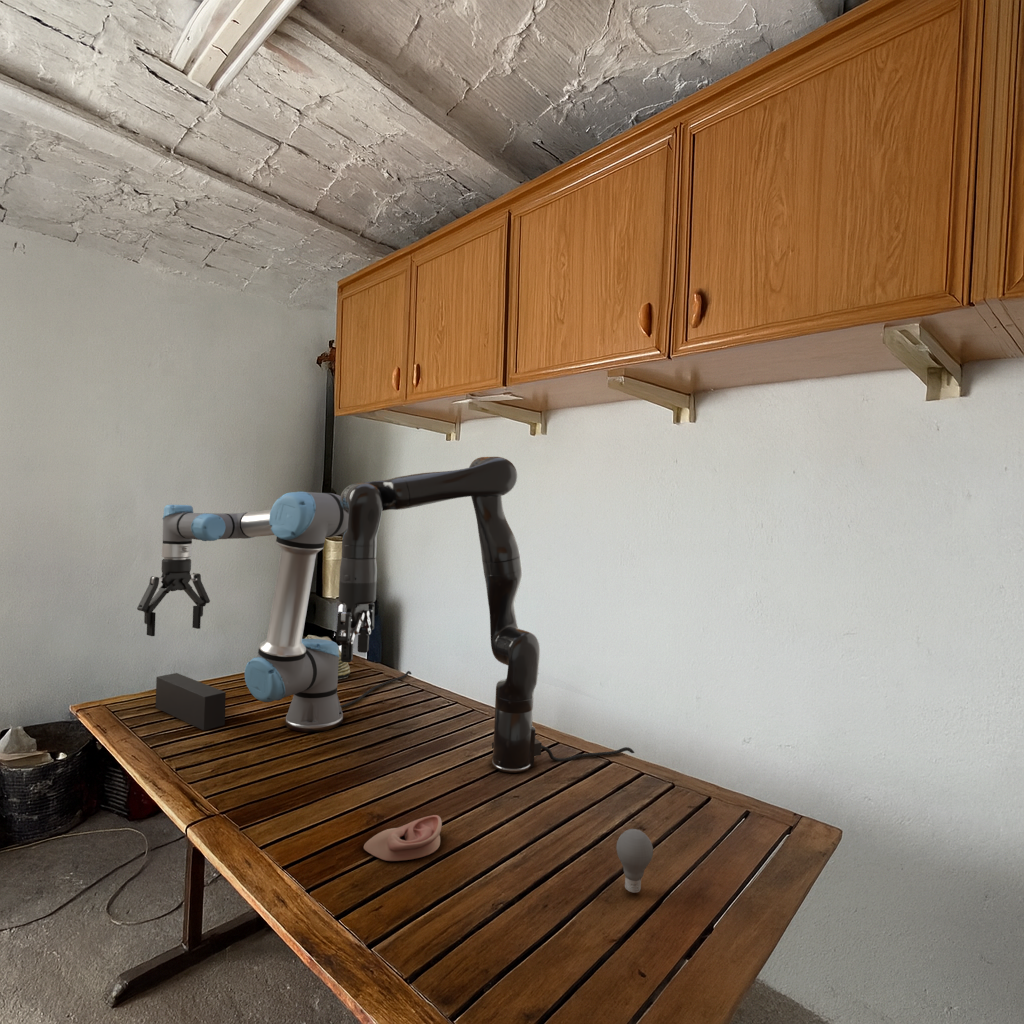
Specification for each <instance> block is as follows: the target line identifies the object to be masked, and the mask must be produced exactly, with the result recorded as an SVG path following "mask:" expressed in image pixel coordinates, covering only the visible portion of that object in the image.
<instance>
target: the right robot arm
mask: <svg viewBox="0 0 1024 1024" xmlns="http://www.w3.org/2000/svg"><path fill="white" fill-rule="evenodd" d="M517 481H518V472H517V469H516V466H515V465H514V464H513V463H512V462H511V460H509V459H507V458H506V457H505V458H504V457H503V456H502V457H501V456H480V457H477V458H475V459H474V460H473V461H471V463H470V465H469V467H466V468H461V469H454V470H445V471H432V472H431V471H429V472H421V473H414V474H407V475H402V476H401V475H400V476H397V477H393V478H388V479H383V480H372V481H363V482H362V481H361V482H355V483H351V484H349V485H347V486H346V487H345V488H344V489H343V491H342V492H341V494H340V496H341V497H340V503H341V506H342V508H343V510H344V511H345V512H346V513H348V514H349V518H348V528H347V529H346V530H345V531H344V532H343V533H342V534H343V535H342V538H341V539H342V541H341V560H340V566H339V582H338V601H339V603H342V604H344V605H345V608H344V611H338V612H337V616H336V617H337V618H336V634H335V643H339V644H341V645H340V646H341V649H340V651H341V661H342V662H347V663H351V662H352V661H353V658H354V642H355V638H356V635H357V653H363V654H366V653H368V652H369V648H370V647H369V646H370V635H371V634H372V631H373V630H374V629H375V602H376V600H377V581H378V580H377V579H378V565H377V549H378V548H377V544H378V539H377V538H378V533H379V531H380V525H381V520H382V516H383V511H384V512H385V511H389V510H393V511H396V510H397V511H399V510H406V509H412V508H417V507H422V506H427V505H431V504H435V503H440V502H445V501H449V500H456V499H461V498H468V497H471V501H472V505H473V509H474V514H475V518H476V525H477V532H478V539H479V540H478V541H479V546H480V553H481V562H482V563H481V564H482V569H483V575H484V580H485V581H484V582H485V587H486V596H487V603H488V610H489V629H490V631H489V632H490V633H489V634H490V648H491V652H492V655H493V657H494V659H496V661H498V662H499V663H501V664H502V665H505V666H507V674H506V678H503V679H500V680H499V681H497V682H496V685H495V701H494V725H493V741H492V743H491V750H492V759H491V760H492V761H491V765H492V767H493V769H495V770H496V771H500V772H503V773H508V774H518V773H519V774H520V773H524V772H526V771H528V770H530V769H531V768H534V767H535V757H538V756H539V757H540V756H542V750H544V751H545V752H547V754H548V756H549V758H550V759H551V760H552V761H554V762H567V761H574V760H576V759H577V760H578V759H583V758H592V757H593V758H594V757H604V756H615V755H618V754H621V753H623V752H629V753H631V754H635V751H634V750H633V749H632V748H631V747H629V746H626V747H622V748H619V749H617V750H611V751H602V752H588V753H587V752H585V753H580V754H579V753H578V754H575V755H572V756H569V757H562V758H561V757H555V756H554V755H553V752H552V750H551V749H550V748H548V747H547V746H545V745H543V744H542V743H543V742H542V741H540V740H539V739H537V738H536V727H535V726H533V715H534V696H535V695H534V693H535V689H536V686H537V685H538V679H539V671H540V670H539V669H540V660H541V645H540V641H539V639H538V637H537V636H536V634H534V633H533V632H532V631H531V632H530V631H528V630H524V629H521V628H519V625H518V622H517V615H516V600H517V597H518V594H519V591H520V587H521V584H522V580H523V563H522V558H521V557H522V556H521V551H520V546H519V543H518V541H517V539H516V536H515V533H514V532H513V530H512V529H511V526H510V524H509V522H508V520H507V517H506V516H505V515H506V514H505V512H504V507H503V499H502V497H503V496H505V495H507V494H509V493H510V492H511V491H513V489H514V488H515V486H516V484H517V483H518V482H517Z"/></svg>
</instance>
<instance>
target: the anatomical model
mask: <svg viewBox="0 0 1024 1024" xmlns="http://www.w3.org/2000/svg"><path fill="white" fill-rule="evenodd" d="M442 826H443V822H442V818H441V816H440V815H437V814H433V815H428V816H424V817H421V818H417V819H414V820H412V821H410V822H408V823H406V824H404V825H401V826H398V827H392V828H388V829H384V830H382V831H380V832H378V833H377V834H375V835H373V836H372V837H370V838H369V839H368V840H367V841H366V842H365V843H364V845H363V850H364V851H365V852H367V853H368V854H370V855H371V856H373V857H375V858H377V859H380V860H382V861H385V862H386V861H387V862H400V861H408V860H409V861H410V860H414V859H415V860H416V859H420V858H423V857H426V856H429V855H431V854H433V853H435V852H436V851H437V850H438V849H439V847H440V845H441V835H440V834H441V831H442Z"/></svg>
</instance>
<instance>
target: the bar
mask: <svg viewBox="0 0 1024 1024" xmlns="http://www.w3.org/2000/svg"><path fill="white" fill-rule="evenodd" d="M155 681H156V682H155V707H154V708H155V709H157V710H159V711H161V712H163V713H165V714H168V715H170V716H172V717H174V718H175V719H178V720H180V721H182V722H185V723H186V724H188V725H191V726H193V727H195V728H197V729H200V730H202V731H207V730H212V729H216V728H219V727H222V726H225V724H226V702H227V701H226V700H227V699H226V698H227V692H226V691H224V690H221V689H219V688H216V687H214V686H211V685H209V684H206V683H203V682H202V681H199V680H197V679H193V678H191V677H188V676H186V675H183V674H181V673H178V672H175V673H169V674H163V675H159V676H156V677H155Z"/></svg>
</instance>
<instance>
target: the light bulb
mask: <svg viewBox="0 0 1024 1024" xmlns="http://www.w3.org/2000/svg"><path fill="white" fill-rule="evenodd" d="M615 849H616V854H617V857H618V859H619V861H620V863H621V865H622V867H623V873H624V874H623V875H624V876H625V878H624V888H625V890H627V891H628V892H630V893H634V894H635V893H639V892H640V891H641V889H642V887H641V886H642V879H643V877H644V875H645V871H646V868H647V867H648V866H649V864H650V863H651V861H652V859H653V855H654V847H653V843H652V841H651V838H649V836H648V835H647V834H646V833H645V832H643V831H642V830H641V829H636V828H629V829H627V830H625V831H623V832H622V833H621V834H620V835H619V837H618V839H617V841H616V847H615Z"/></svg>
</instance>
